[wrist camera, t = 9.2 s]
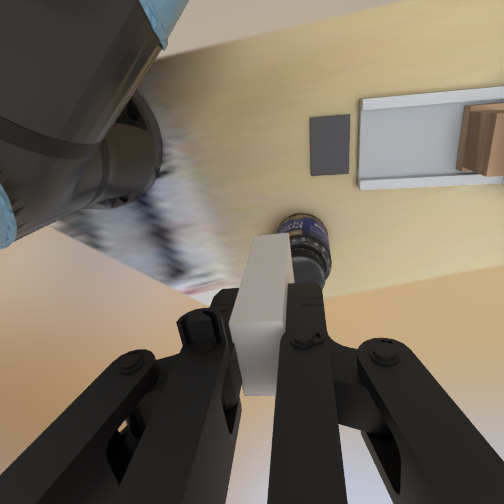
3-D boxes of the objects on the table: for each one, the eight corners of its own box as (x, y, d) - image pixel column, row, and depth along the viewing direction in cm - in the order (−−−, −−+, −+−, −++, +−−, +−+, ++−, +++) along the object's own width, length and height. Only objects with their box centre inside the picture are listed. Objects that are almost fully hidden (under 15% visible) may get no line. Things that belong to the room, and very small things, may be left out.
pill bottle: (298, 202, 40) (295, 235, 30) (338, 233, 41) (348, 275, 31) (266, 240, 43) (254, 282, 33) (305, 269, 44) (304, 319, 34)
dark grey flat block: (311, 174, 39) (311, 175, 38) (310, 117, 37) (310, 117, 36) (348, 172, 38) (348, 173, 38) (349, 114, 36) (350, 114, 36)
